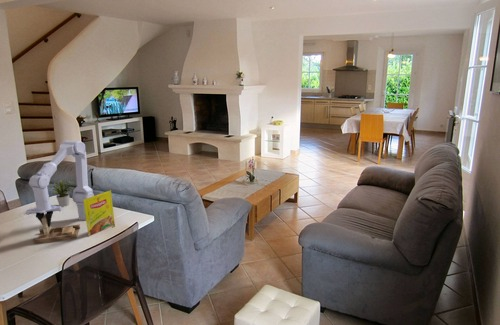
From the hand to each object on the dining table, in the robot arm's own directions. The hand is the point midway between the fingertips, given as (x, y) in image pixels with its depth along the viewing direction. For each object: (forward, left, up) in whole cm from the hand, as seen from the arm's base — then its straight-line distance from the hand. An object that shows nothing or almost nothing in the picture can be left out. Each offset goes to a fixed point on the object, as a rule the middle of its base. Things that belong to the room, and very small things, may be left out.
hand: (47, 226), depth 169 cm
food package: (-24, 0, -7) cm, 25 cm away
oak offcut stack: (-8, 0, -6) cm, 10 cm away
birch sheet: (0, 0, -3) cm, 3 cm away
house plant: (+2, -45, -7) cm, 46 cm away
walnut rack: (-4, 0, -7) cm, 8 cm away
